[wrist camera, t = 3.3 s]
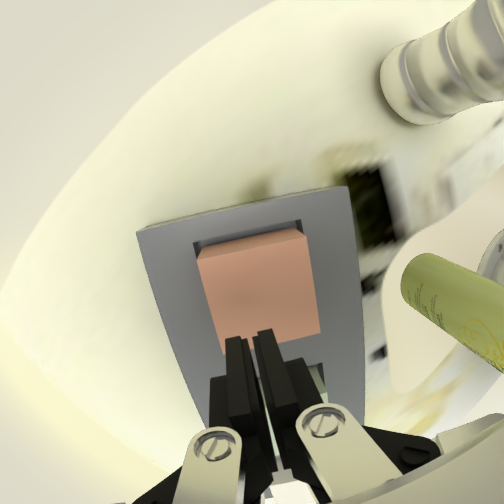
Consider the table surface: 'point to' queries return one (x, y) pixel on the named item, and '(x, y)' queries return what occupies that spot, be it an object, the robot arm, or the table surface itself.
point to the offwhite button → (289, 487)
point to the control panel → (324, 276)
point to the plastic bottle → (448, 67)
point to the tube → (458, 304)
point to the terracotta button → (260, 286)
